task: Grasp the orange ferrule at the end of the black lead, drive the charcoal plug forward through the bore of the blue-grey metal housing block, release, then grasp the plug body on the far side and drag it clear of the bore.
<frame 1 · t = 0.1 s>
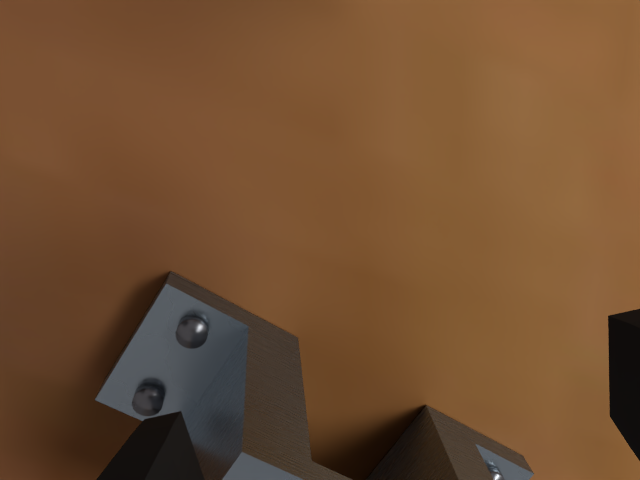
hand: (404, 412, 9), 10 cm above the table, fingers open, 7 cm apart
housing: (327, 421, 22), on the table
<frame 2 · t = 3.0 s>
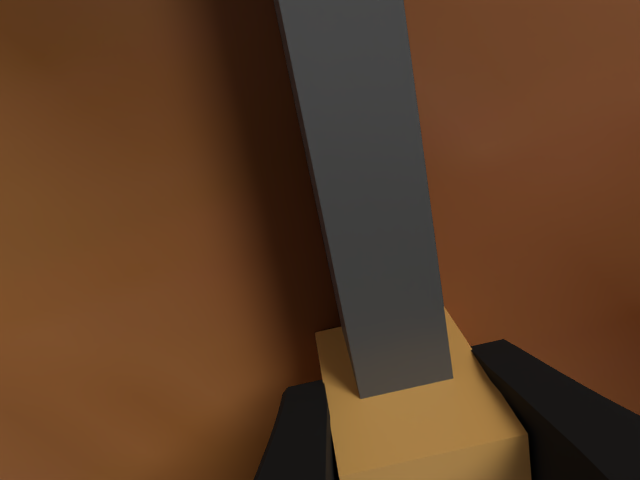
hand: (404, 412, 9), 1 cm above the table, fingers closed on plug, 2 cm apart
when the fingers open (1 cm above the table, at t = 7.2 s): plug stays where it is, on the table.
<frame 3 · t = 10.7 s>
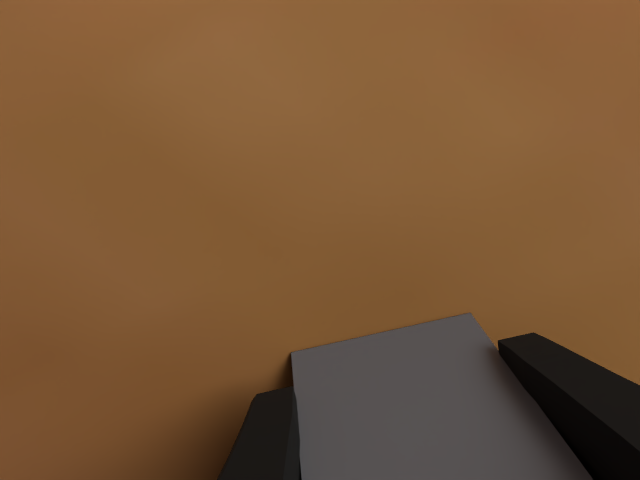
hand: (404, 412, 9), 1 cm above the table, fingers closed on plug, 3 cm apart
plug: (394, 409, 11), on the table, touching gripper
when the fingers open (1 cm above the table, at t = 12.8 s): plug stays where it is, on the table.
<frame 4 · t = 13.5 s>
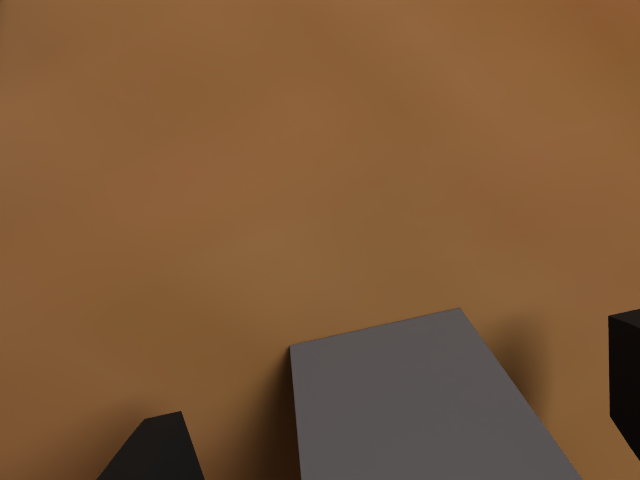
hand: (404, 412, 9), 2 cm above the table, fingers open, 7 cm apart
plug: (388, 399, 12), on the table
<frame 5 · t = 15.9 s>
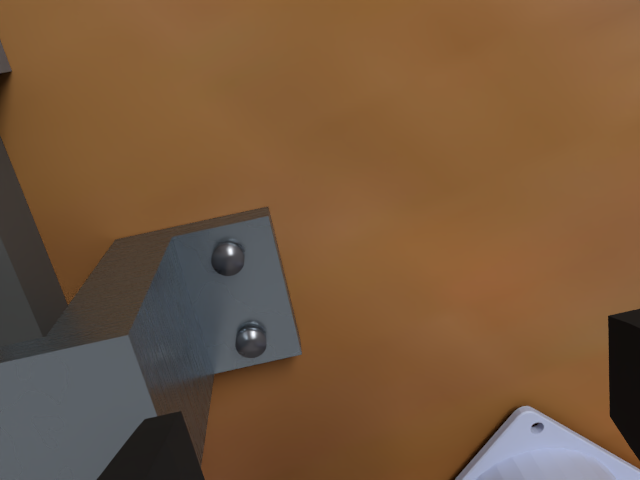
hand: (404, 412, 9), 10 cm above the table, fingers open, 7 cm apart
housing: (53, 326, 19), on the table
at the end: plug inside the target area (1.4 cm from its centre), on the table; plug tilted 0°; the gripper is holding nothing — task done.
